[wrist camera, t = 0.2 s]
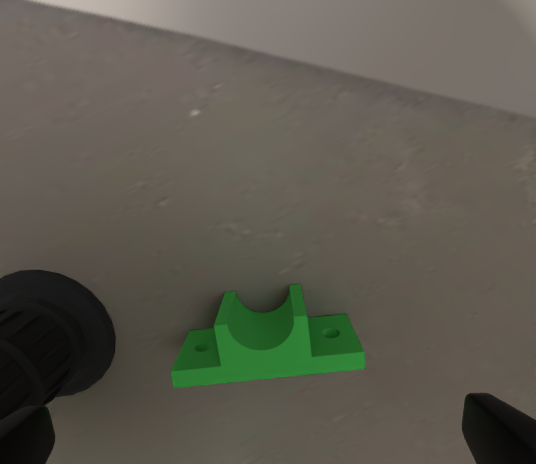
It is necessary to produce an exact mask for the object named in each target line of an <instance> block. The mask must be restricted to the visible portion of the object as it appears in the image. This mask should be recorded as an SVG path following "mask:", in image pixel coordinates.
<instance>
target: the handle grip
mask: <svg viewBox="0 0 536 464" xmlns="http://www.w3.org/2000/svg"><path fill="white" fill-rule="evenodd" d="M114 353H115V334H114V330H113V326H112V322H111V320H110V318H109V316H108V314H107V312H106V310H105V309H104V307H103V305H102V304H101V303H100V302H99V301H98V299H97V298H96V297H95V296H94V295H93V294H92V293H91V292H90V291H89V290H87V289H86V288H85V287H83V286H82V285H80V284H79V283H78V282H76V281H74V280H72V279H70V278H67V277H65V276H63V275H60V274H58V273H53V272H48V271H42V270H27V271H18V272H15V273H12V274H9V275H6V276H4V277H2V278H1V279H0V420H2V419H4V418H5V417H7V416H9V415H11V414H12V413H14V412H16V411H18V410H19V409H21V408H23V407H26V406H38V405H43V406H45V405H46V404H48V403H49V402H51V401H52V400H53V399H54V398H55V397H60V396H67V395H73V394H76V393H78V392H81V391H83V390H86V389H88V388H89V387H90V386H92V385H93V384H94V383H96V382H97V381H98V380H100V379H101V378H102V377H103V375H104V374H105V372H106V371H107V370H108V368H109V367H110V365H111V362H112V359H113V356H114Z"/></svg>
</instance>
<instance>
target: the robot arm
mask: <svg viewBox="0 0 536 464" xmlns="http://www.w3.org/2000/svg"><path fill="white" fill-rule="evenodd" d="M462 431H463V435H464V438H465V440H466V442H467V444H468V446H469V449H470V451H471V453H472V455H473V457H474V459H475V461H476V463H477V464H536V420H535V419H533V418H531V417H530V416H528V415H526V414H524V413H522V412H521V411H519V410H517V409H515V408H514V407H512V406H510V405H508V404H507V403H505V402H503V401H501V400H500V399H498V398H496V397H494V396H493V395H491V394H488V393H470V394H468V395H467V396H466V397H465V402H464V410H463V419H462ZM54 443H55V433H54V428H53V424H52V420H51V416H50V412H49V409H48V408H47V407H46V406H43V405H38V406H26V407H23V408H21V409H19V410H18V411H16V412H14V413H12V414H11V415H9V416H7V417H5V418H4V419H2V420H0V464H45V463H46V461H47V459H48V457H49V455H50V453H51V451H52V449H53V446H54Z"/></svg>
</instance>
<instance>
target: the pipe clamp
mask: <svg viewBox="0 0 536 464" xmlns="http://www.w3.org/2000/svg"><path fill="white" fill-rule="evenodd" d="M289 287H290V289H289V295H288V297H287V299H286V301H285V302H284V304H283V305H282V306H281V307H279V308H278V309H276V310H274V311H271V312H267V313H259V312H254V311H252V310H250V309H248V308H246V307H245V306H244V305H243V304H242V303H241V302H240V300H239V299H238V297H237V294H236V291H232V292H225V294H224V297H223V300H222V303H221V306H220V309H219V312H218V315H217V318H216V321H215V324H214V328H208V329H199V330H190V331H189V333H188V335H187V337H186V340H185V342H184V344H183V346H182V348H181V350H180V352H179V354H178V356H177V359H176V361H175V363H174V365H173V367H172V369H171V371H170V372H171V377H172V381H173V386H174V388H180V387H190V386H200V385H210V384H220V383H230V382H240V381H250V380H260V379H270V378H280V377H290V376H300V375H310V374H319V373H329V372H339V371H349V370H359V369H365V354H364V350H363V348H362V346H361V344H360V341H359V339H358V337H357V335H356V333H355V331H354V329H353V327H352V325H351V323H350V320H349V318H348V316H347V314H339V315H329V316H320V317H311V318H308V317H307V312H306V307H305V303H304V298H303V294H302V290H301V285H300V284H295V285H289Z"/></svg>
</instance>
